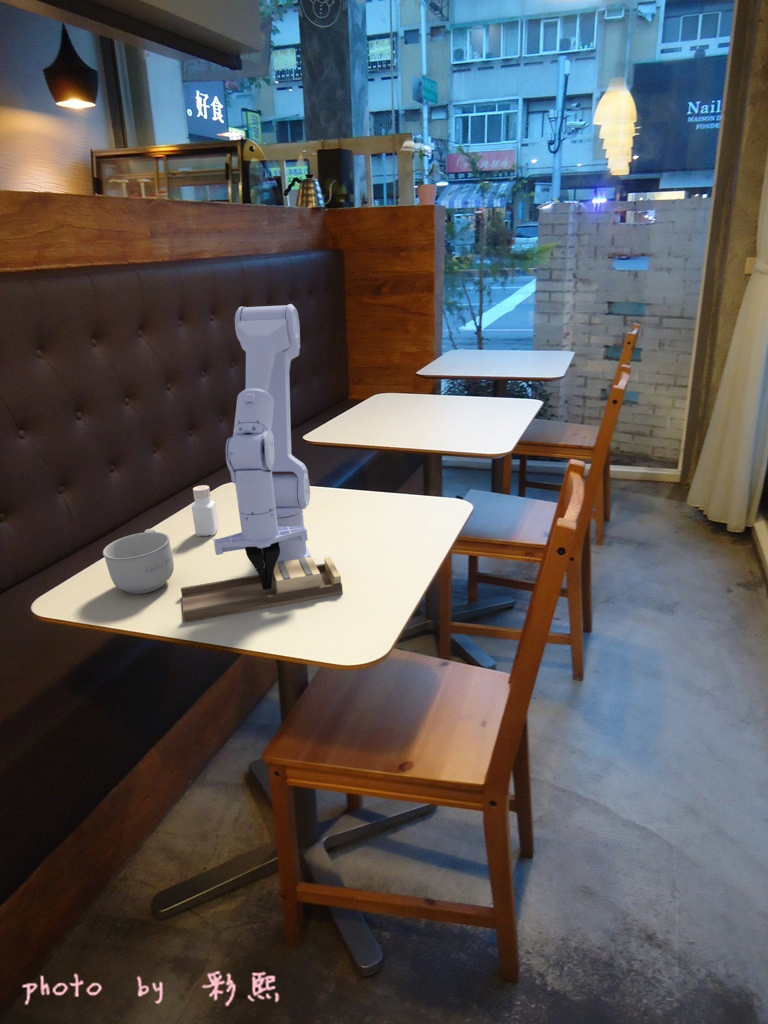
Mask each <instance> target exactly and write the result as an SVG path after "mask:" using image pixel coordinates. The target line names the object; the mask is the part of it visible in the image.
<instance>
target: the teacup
mask: <svg viewBox="0 0 768 1024" xmlns="http://www.w3.org/2000/svg"><path fill="white" fill-rule="evenodd" d="M102 555H103V557H104V559H105V562H106V566H107V570H108V573H109V576H110V578H111V579H110V580H111V582H112V583H113V584H114V586H115V587H116V588H118V589H120V590H122V591H125V592H127V593H129V594H132V595H133V594H134V595H141V594H147V593H150V592H153V591H155V590H158V589H161V588H162V587H163V586H164V585H165V584H166V583H167V581H168V580H169V579H170V578H171V577H172V575H173V573H174V568H175V566H174V565H175V564H174V562H175V561H174V557H173V556H174V555H173V552H172V546H171V543H170V537H169V535H168V534H166V533H163V532H160V531H159V532H157V531H156V530H155V529H153V528H147V529H145V530H144V532H139V533H134V534H130V535H127V536H124V537H121V538H119V539H116V540H114V541H112V542H110V543H109V544H107V545H106V546H105V547H104V549H103V551H102Z"/></svg>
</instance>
